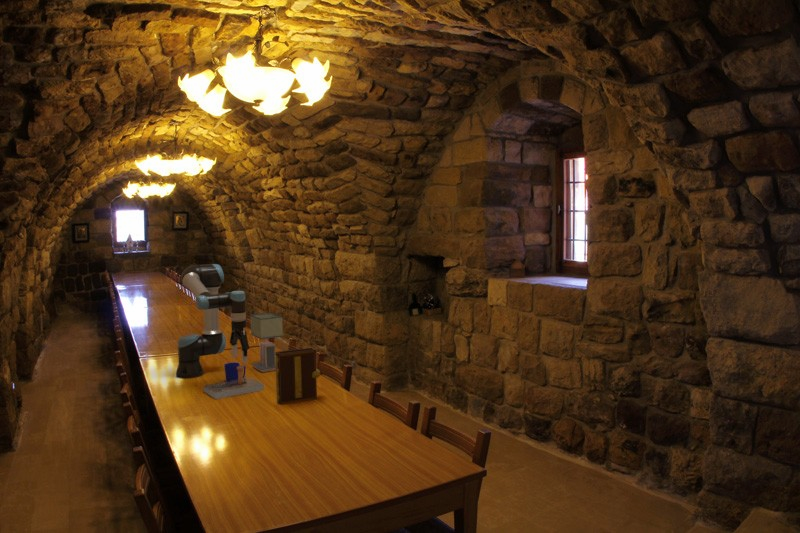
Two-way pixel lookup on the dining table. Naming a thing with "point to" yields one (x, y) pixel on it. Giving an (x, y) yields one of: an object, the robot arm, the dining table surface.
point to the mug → (232, 371)
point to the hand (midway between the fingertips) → (239, 359)
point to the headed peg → (240, 374)
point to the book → (296, 375)
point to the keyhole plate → (233, 388)
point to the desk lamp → (264, 329)
